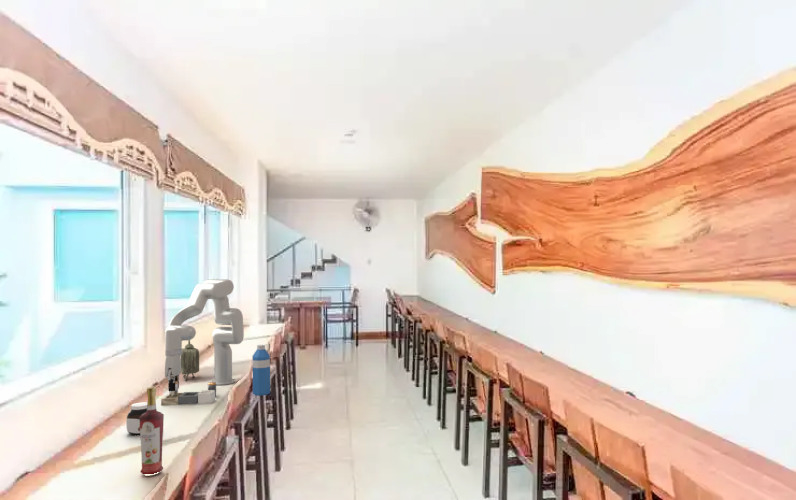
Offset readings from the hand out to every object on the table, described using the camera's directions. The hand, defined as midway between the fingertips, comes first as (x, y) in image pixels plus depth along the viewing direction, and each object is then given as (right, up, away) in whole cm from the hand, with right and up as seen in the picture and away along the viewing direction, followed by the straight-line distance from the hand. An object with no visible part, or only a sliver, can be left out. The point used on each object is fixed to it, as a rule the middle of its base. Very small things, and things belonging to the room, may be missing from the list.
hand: (173, 389), depth 279 cm
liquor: (+30, -5, -94) cm, 99 cm away
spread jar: (+7, -6, -48) cm, 49 cm away
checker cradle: (+8, -6, -1) cm, 10 cm away
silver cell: (0, -3, 0) cm, 3 cm away
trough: (0, -6, 0) cm, 6 cm away
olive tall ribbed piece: (-12, -7, +54) cm, 55 cm away
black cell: (+16, -6, +10) cm, 19 cm away
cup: (+17, -6, -1) cm, 18 cm away
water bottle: (+40, -6, +15) cm, 43 cm away
